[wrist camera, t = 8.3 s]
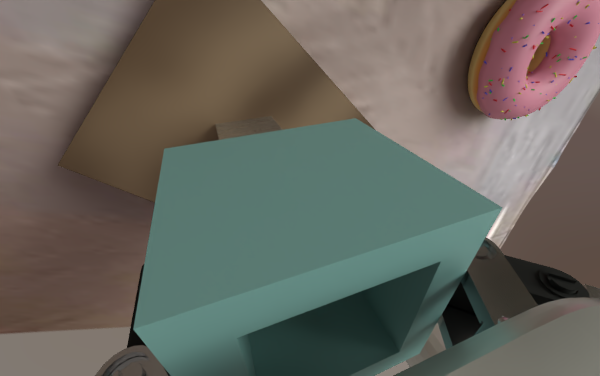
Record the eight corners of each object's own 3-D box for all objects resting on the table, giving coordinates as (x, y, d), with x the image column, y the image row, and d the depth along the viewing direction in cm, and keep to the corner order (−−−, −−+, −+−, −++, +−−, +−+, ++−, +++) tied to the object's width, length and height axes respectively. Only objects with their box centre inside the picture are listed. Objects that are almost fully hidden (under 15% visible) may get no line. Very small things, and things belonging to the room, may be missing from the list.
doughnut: (551, -72, 18) (631, -91, 15) (567, 39, 24) (625, 43, 21) (438, 64, 21) (484, 74, 17) (479, 132, 27) (519, 148, 24)
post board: (363, 123, 21) (437, 169, 15) (266, 232, 24) (294, 309, 17) (196, -61, 12) (205, -143, 6) (71, 149, 15) (-14, 247, 8)
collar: (355, 118, 10) (502, 207, 5) (342, 241, 14) (419, 353, 9) (164, 148, 8) (133, 329, 3) (212, 281, 12) (228, 446, 7)
